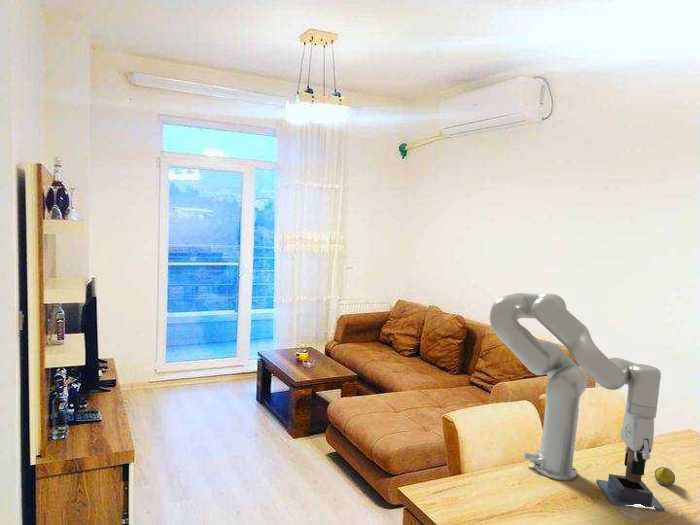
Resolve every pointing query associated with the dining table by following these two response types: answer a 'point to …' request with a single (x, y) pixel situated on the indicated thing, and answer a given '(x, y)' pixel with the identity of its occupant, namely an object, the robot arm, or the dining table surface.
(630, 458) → the walnut rod
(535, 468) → the robot arm
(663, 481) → the yellow grooved cone part
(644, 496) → the grey square peg hole
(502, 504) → the dining table surface
